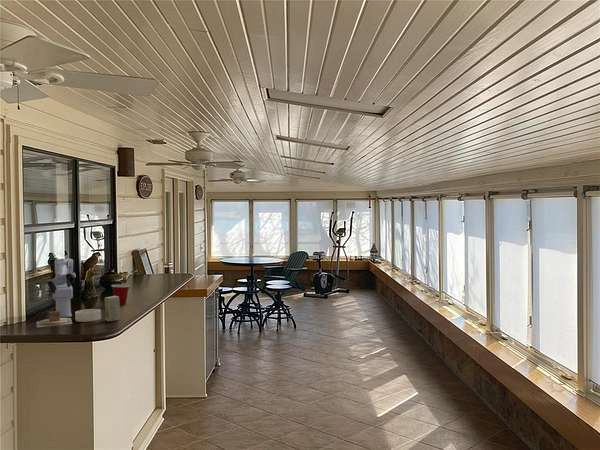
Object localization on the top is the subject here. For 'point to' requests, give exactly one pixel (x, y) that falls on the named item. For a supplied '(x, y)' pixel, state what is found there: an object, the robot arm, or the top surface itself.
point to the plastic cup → (121, 292)
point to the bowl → (88, 315)
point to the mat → (54, 325)
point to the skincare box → (112, 308)
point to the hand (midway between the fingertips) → (60, 288)
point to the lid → (54, 319)
